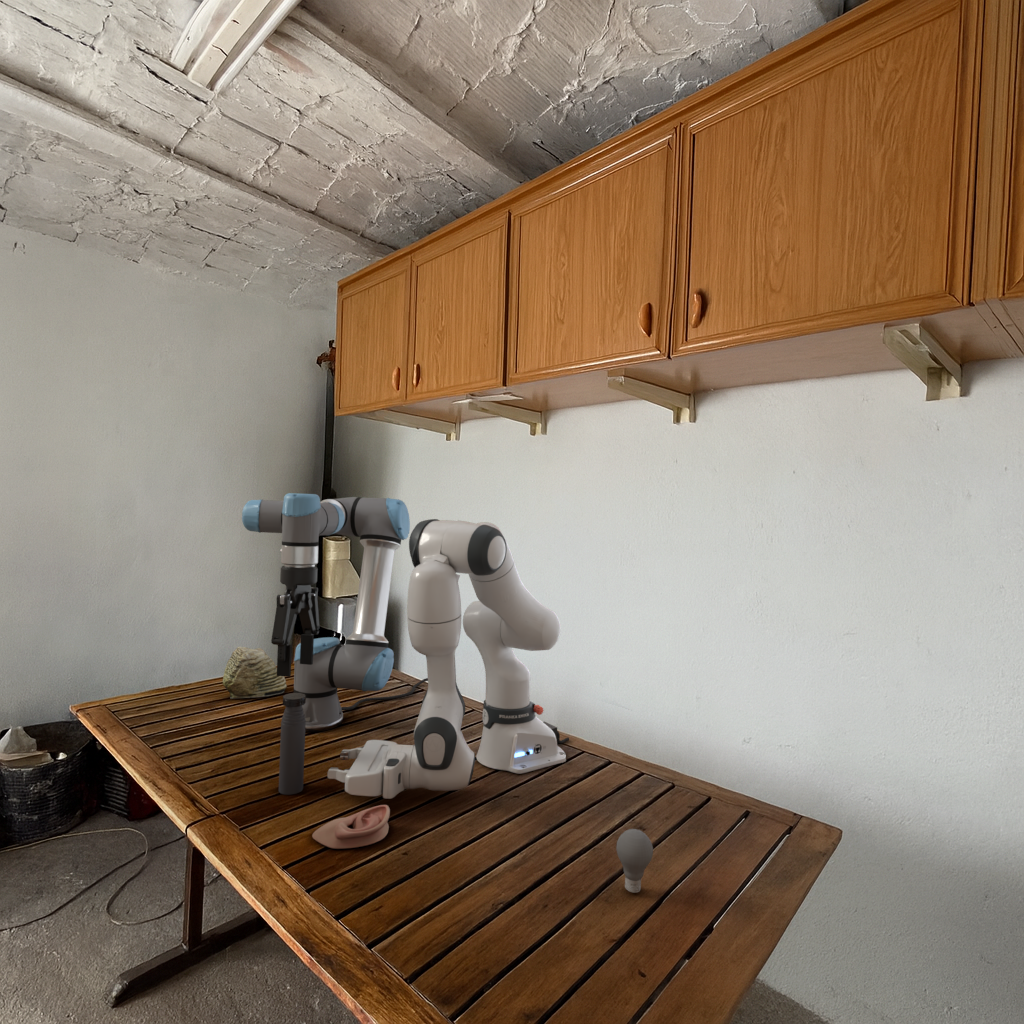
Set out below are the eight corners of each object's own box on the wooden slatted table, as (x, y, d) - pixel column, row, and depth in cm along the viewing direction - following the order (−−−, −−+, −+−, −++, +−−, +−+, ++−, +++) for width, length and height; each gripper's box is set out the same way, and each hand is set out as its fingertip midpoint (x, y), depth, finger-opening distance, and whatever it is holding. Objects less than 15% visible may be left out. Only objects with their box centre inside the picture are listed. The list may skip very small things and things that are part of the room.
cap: (302, 707, 134) (303, 699, 134) (280, 707, 134) (280, 699, 134) (307, 700, 139) (307, 692, 139) (285, 700, 138) (286, 692, 138)
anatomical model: (304, 822, 115) (334, 794, 126) (303, 844, 115) (333, 813, 126) (372, 833, 112) (397, 803, 124) (371, 855, 113) (396, 823, 124)
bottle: (300, 794, 134) (303, 701, 134) (275, 794, 134) (279, 701, 133) (305, 784, 139) (308, 694, 139) (281, 784, 139) (285, 694, 138)
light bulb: (610, 879, 108) (613, 822, 108) (644, 879, 109) (647, 822, 109) (619, 902, 102) (622, 840, 102) (655, 901, 103) (658, 840, 103)
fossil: (218, 695, 195) (220, 647, 195) (278, 685, 208) (279, 640, 207) (228, 703, 189) (230, 653, 188) (289, 692, 201) (290, 645, 201)
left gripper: (307, 559, 147) (303, 656, 147) (254, 569, 125) (250, 682, 126) (337, 561, 146) (333, 658, 146) (290, 571, 124) (285, 685, 125)
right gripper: (407, 734, 147) (348, 731, 147) (390, 771, 126) (321, 768, 126) (406, 761, 147) (347, 758, 147) (389, 803, 126) (319, 800, 126)
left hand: (295, 669), depth 136 cm, fingers open, 9 cm apart
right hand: (334, 763), depth 136 cm, fingers open, 8 cm apart
